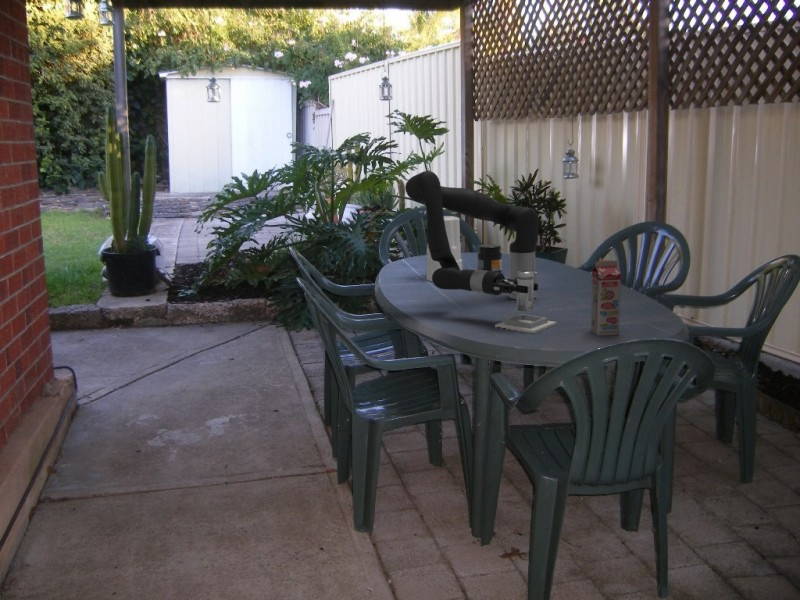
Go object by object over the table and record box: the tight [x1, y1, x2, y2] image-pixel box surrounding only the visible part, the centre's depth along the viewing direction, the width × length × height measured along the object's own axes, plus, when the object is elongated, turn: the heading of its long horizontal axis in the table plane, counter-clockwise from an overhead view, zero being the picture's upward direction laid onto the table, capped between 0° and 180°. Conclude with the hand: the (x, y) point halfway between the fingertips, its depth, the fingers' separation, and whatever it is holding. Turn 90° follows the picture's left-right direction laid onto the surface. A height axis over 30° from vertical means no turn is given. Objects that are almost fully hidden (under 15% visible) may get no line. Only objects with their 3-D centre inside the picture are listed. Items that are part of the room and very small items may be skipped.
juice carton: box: [590, 260, 622, 337], centre depth 250 cm, size 7×7×22 cm
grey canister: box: [516, 270, 535, 312], centre depth 260 cm, size 6×6×12 cm
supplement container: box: [476, 243, 503, 273], centre depth 353 cm, size 10×10×12 cm
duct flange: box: [494, 313, 557, 334], centre depth 262 cm, size 14×14×2 cm
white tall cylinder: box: [426, 215, 463, 282], centre depth 342 cm, size 15×15×33 cm
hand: (532, 288), depth 258 cm, fingers closed on grey canister, 5 cm apart
